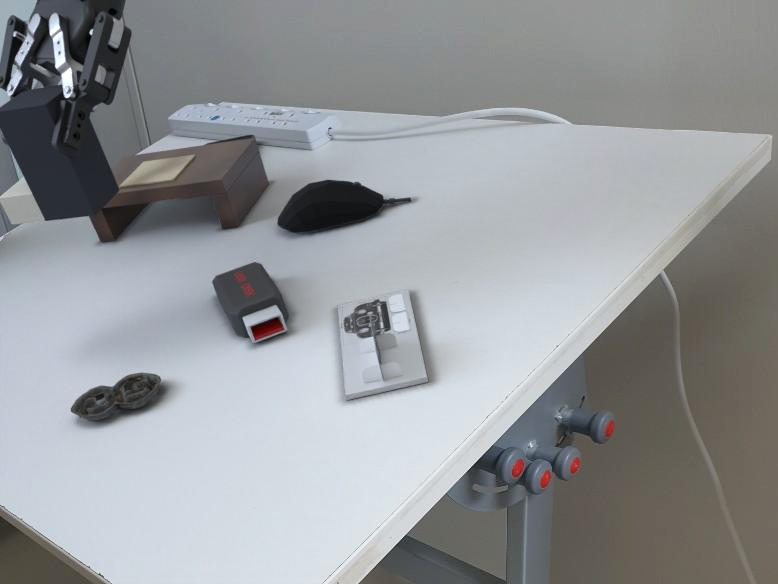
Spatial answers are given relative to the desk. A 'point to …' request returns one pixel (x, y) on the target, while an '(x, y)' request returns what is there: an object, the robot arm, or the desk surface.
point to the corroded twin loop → (117, 396)
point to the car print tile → (380, 345)
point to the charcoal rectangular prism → (51, 163)
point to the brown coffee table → (185, 183)
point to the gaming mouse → (330, 206)
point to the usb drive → (251, 302)
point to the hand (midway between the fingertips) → (39, 150)
